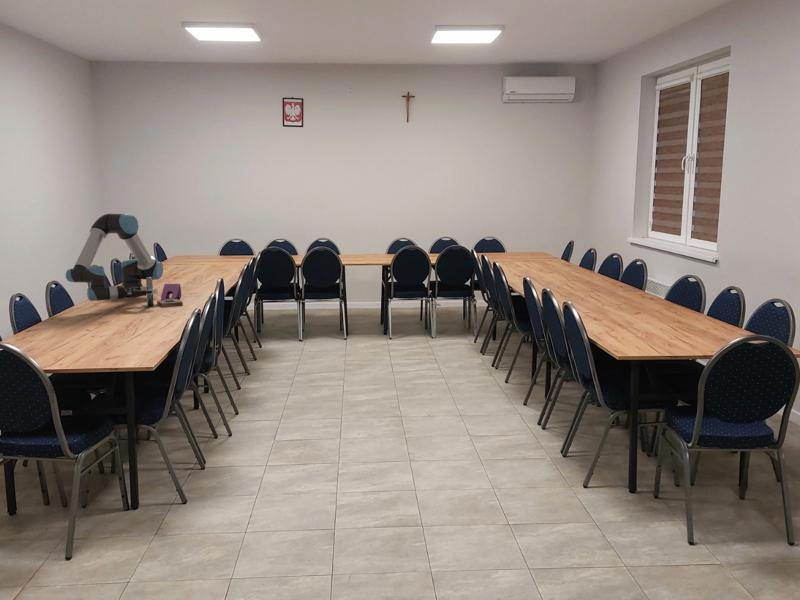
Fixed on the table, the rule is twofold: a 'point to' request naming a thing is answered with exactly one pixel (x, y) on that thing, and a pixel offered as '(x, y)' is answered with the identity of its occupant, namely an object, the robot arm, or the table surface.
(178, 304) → the collar
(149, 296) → the peg
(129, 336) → the table surface
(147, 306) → the mat
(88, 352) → the table surface
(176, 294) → the mounting bracket
